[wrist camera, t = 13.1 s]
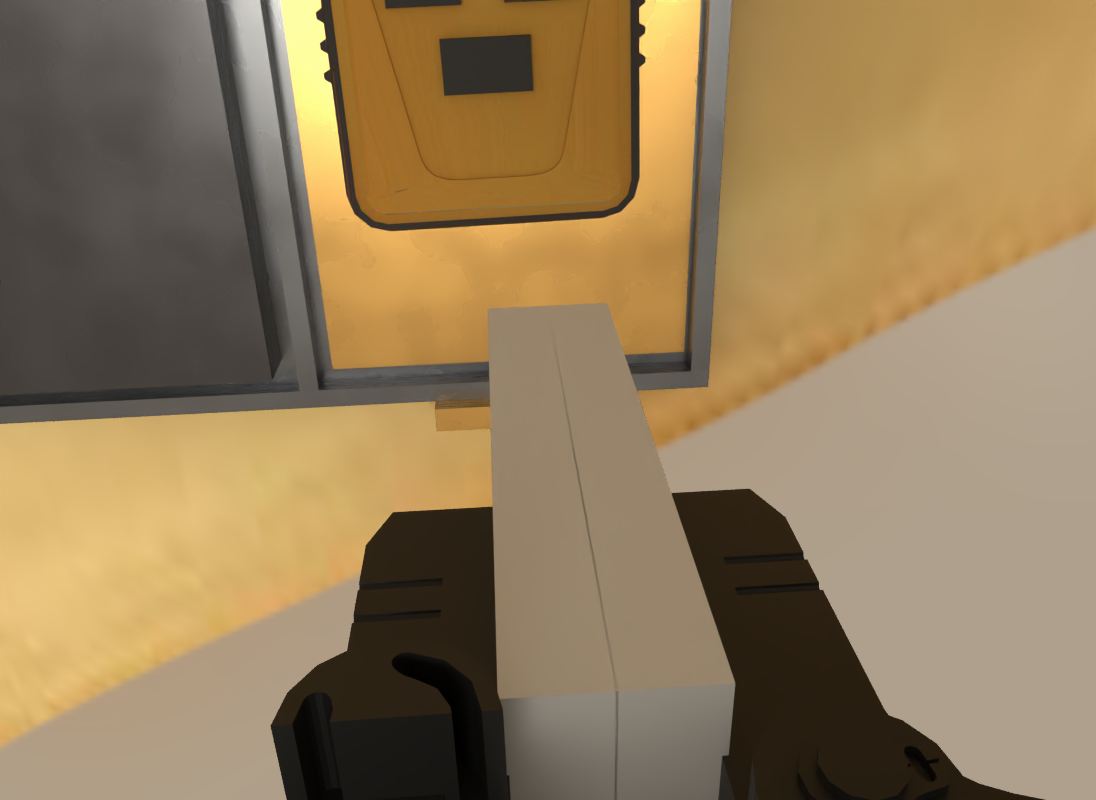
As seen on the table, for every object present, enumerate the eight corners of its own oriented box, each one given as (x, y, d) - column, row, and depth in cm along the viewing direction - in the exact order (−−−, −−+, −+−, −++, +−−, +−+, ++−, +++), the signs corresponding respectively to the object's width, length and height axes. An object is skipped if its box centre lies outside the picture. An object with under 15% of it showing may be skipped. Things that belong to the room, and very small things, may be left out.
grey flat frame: (-294, -154, 23) (-358, -160, 22) (731, -175, 25) (751, -183, 23) (-75, 433, 31) (-108, 463, 29) (699, 392, 32) (712, 419, 31)
